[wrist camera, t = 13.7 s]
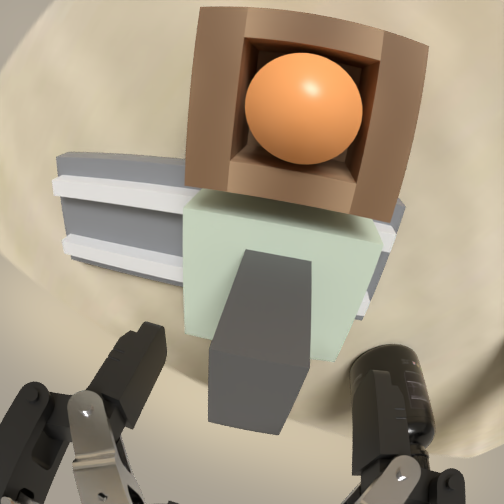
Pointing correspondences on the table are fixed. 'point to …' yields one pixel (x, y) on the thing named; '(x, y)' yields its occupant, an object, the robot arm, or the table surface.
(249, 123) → the button
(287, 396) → the carriage
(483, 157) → the table surface
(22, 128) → the table surface
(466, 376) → the table surface
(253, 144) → the cabinet
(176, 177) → the track
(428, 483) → the robot arm
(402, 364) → the supplement bottle
